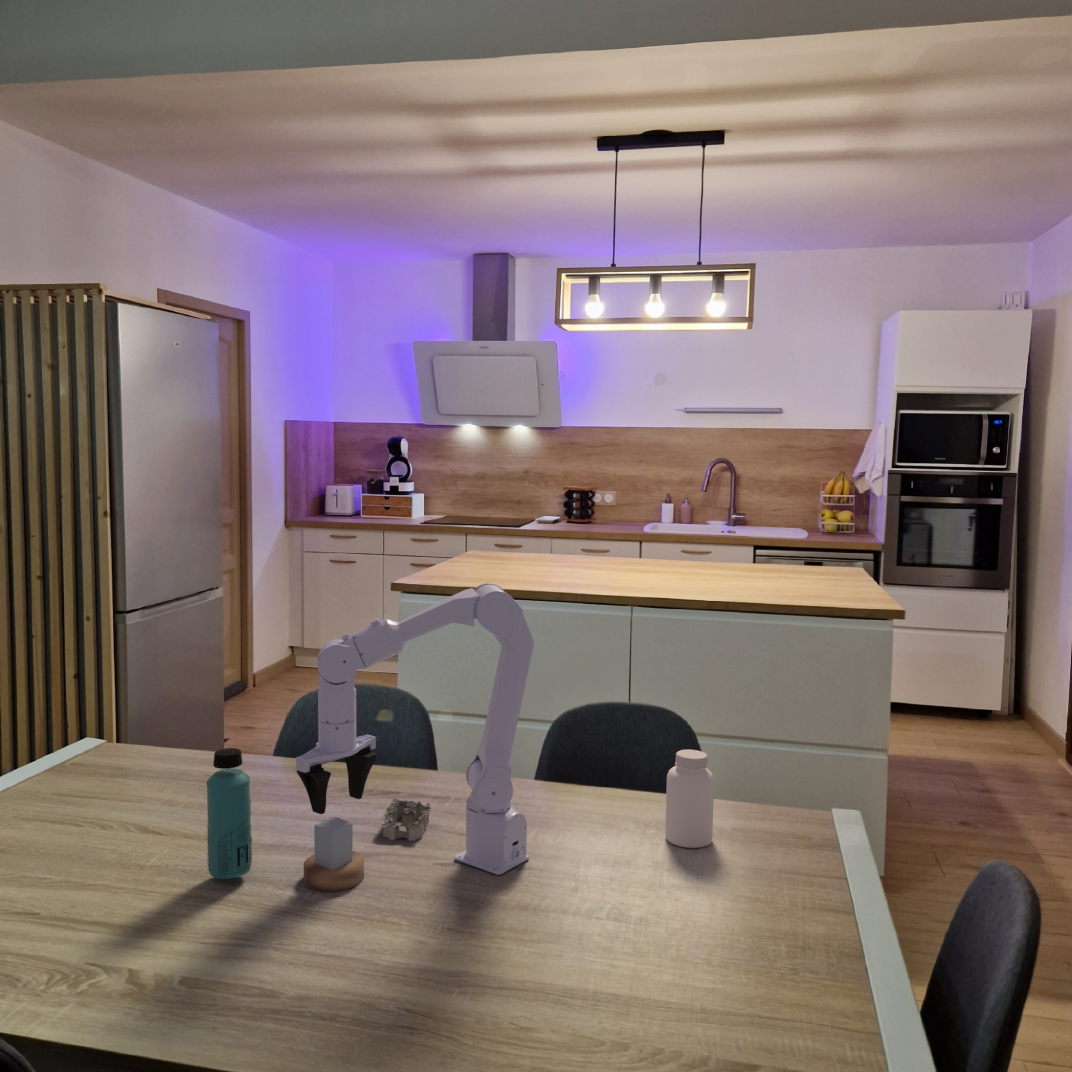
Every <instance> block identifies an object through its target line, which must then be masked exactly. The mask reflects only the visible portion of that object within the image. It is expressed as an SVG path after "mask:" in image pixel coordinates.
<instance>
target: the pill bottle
mask: <svg viewBox="0 0 1072 1072" xmlns="http://www.w3.org/2000/svg"><path fill="white" fill-rule="evenodd" d="M708 758H709V756H708V754H707V753H706V752H704V751H702V750H701V751H700V750H696V749H681V750H679V751H677V752H676V753H675V761H674V762H675V763H674V766H673V767H671V768H670V769H669V770H668V771H667V772H668V773H667V775H666V792H665V793H666V794H665V795H666V797H665V798H666V799H665V803H666V804H665V830H664V831H665V838H666V840H667V841H668V842H669V843H670V844H673V845H675V846H677V847H681V848H685V849H686V848H687V849H688V848H689V849H697V848H699V849H700V848H704V847H707V846H709V845H710V844H711V842H712V840H713V827H714V799H715V798H714V797H715V795H714V794H715V776H714V774H713V773H712V771H710V769H708V768H707V767H708Z"/></svg>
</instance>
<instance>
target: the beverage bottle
mask: <svg viewBox="0 0 1072 1072" xmlns="http://www.w3.org/2000/svg"><path fill="white" fill-rule="evenodd" d="M242 765H243V755H242V751H241V749H240V748H236V747H235V748H234V747H226V748H222V749H218V750H216V751H215V752H214V754H213V768H215V769H219V770H217V771H215V772H214V773H213V774H212V775H210V776H209V778H207V781H206V784H205V785H206V793H207V794H206V795H207V797H206V798H207V799H206V800H207V805H206V807H207V809H206V810H207V821H206V822H207V833H206V836H207V838H206V840H207V845H206V850H207V856H206V857H207V858H206V863H207V864H206V865H207V867H206V869H207V870H208V872H209V875H210V876H211V877H213V878H215V879H216V878H217V879H224V880H225V879H234V878H238V877H241V876H244V875H246V874H247V873H249V871H251V867H252V864H253V861H252V860H253V849H252V848H253V847H252V842H253V838H252V824H251V823H252V822H251V816H252V810H251V809H252V807H251V803H252V800H251V799H252V797H251V790H250V789H251V785H250V782H251V777H250V776H249V775H248V773H246V772H245V771H244V770H242V769H240V768H239V767H240V766H242Z"/></svg>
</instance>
